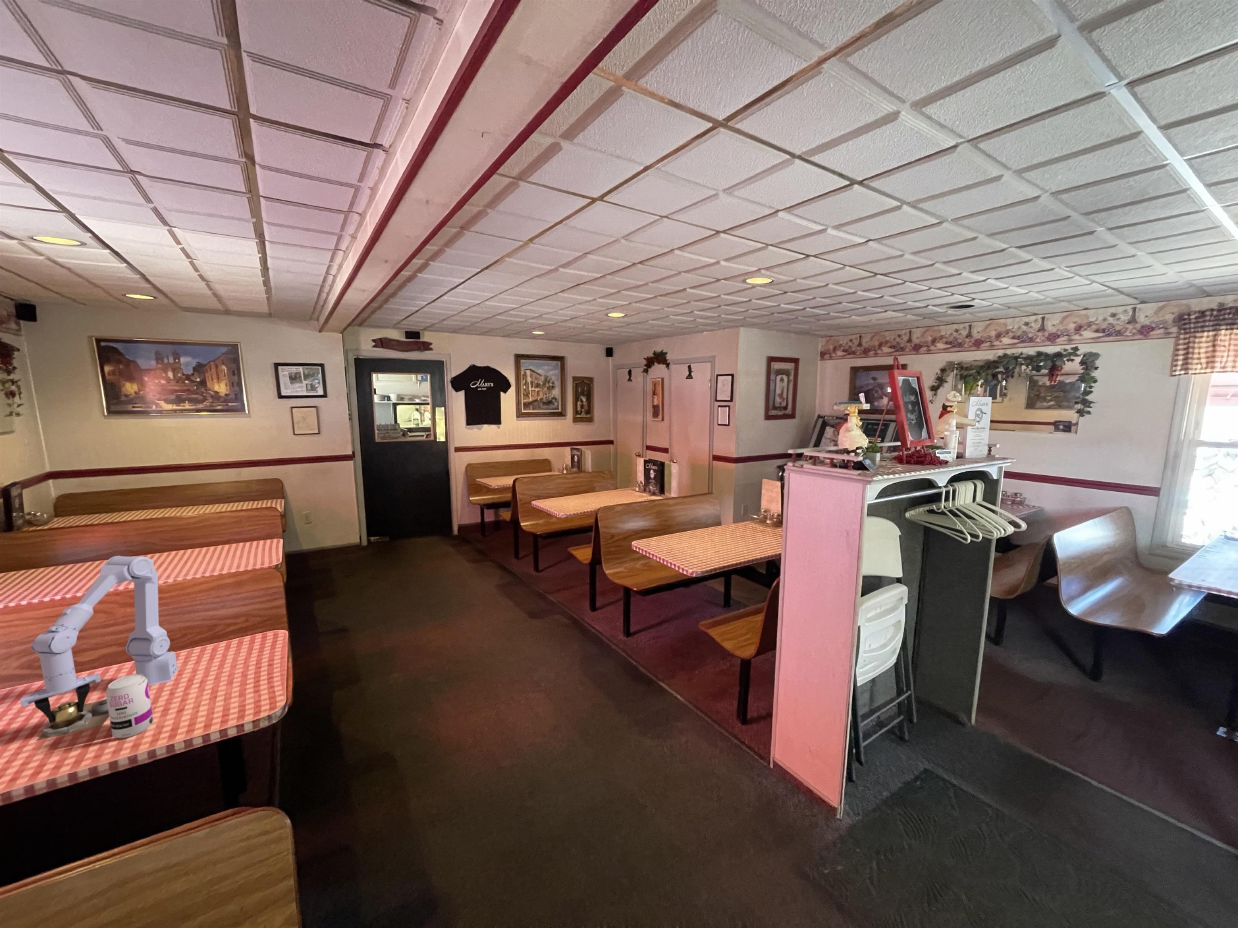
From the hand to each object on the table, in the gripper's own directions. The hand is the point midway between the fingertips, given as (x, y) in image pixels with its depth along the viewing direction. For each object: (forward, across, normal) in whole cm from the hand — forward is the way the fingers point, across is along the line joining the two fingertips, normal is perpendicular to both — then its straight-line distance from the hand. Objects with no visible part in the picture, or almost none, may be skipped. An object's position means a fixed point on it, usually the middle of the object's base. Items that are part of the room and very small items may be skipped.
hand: (66, 716), depth 134 cm
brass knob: (+2, 0, 0) cm, 2 cm away
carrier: (+4, -3, -2) cm, 5 cm away
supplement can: (+4, -10, +16) cm, 20 cm away
